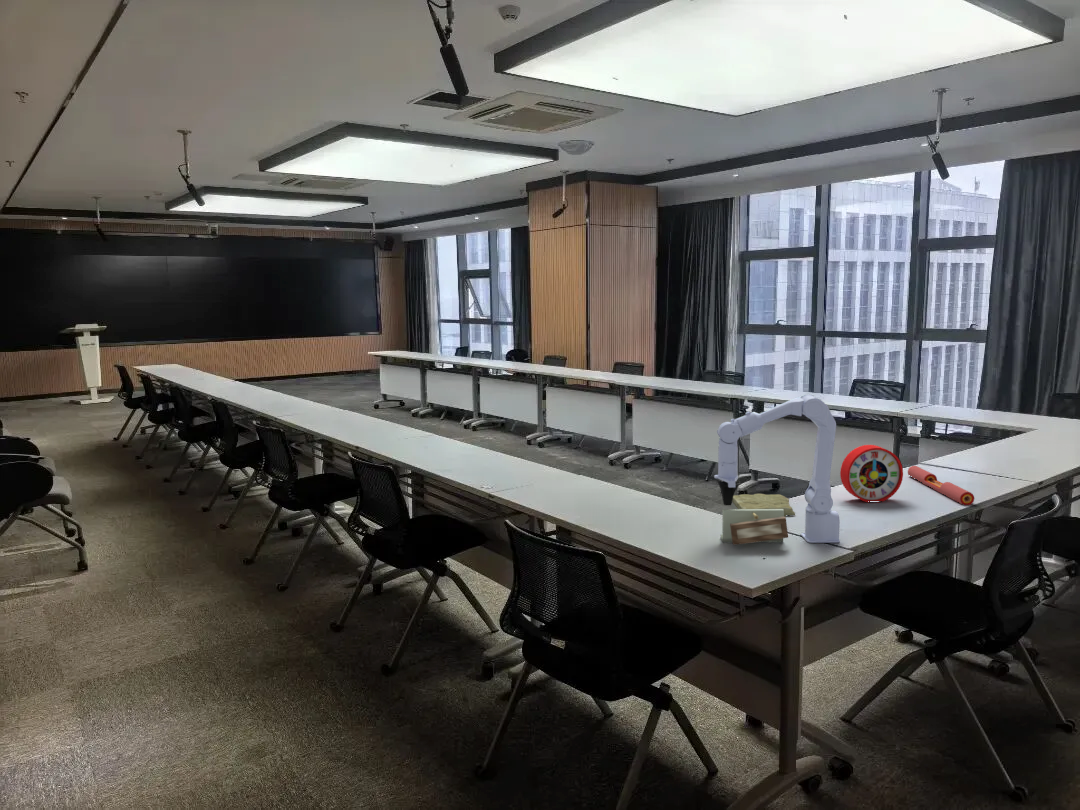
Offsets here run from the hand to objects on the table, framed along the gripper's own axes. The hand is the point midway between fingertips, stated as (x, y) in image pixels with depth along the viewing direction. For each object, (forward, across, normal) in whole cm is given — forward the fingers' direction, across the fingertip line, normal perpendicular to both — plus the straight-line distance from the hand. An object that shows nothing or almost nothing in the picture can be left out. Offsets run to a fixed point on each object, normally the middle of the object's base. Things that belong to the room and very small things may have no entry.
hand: (727, 504), depth 227 cm
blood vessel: (+11, -57, +88) cm, 106 cm away
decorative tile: (+11, -32, +18) cm, 39 cm away
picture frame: (+8, +10, +8) cm, 15 cm away
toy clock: (+11, -42, +58) cm, 72 cm away
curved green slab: (+10, +4, +7) cm, 13 cm away
